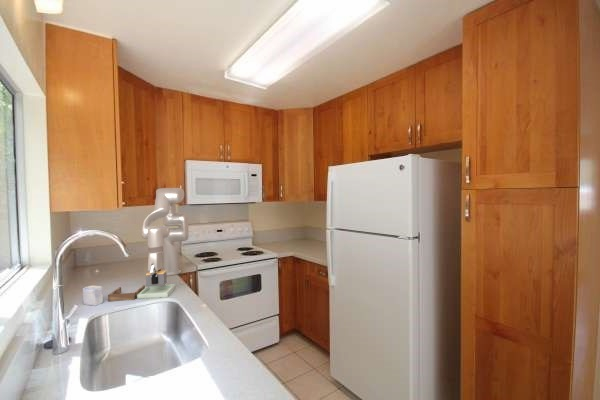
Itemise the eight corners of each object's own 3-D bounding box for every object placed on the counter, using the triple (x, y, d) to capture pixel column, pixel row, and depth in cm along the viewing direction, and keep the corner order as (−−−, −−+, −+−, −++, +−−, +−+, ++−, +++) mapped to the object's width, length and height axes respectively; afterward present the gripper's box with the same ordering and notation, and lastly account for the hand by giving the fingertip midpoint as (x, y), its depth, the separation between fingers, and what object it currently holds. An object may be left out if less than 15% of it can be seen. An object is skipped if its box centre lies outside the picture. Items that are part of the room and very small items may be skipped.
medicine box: (103, 302, 141) (102, 286, 140) (94, 306, 136) (94, 289, 136) (91, 301, 143) (91, 285, 142) (83, 304, 138) (82, 288, 138)
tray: (147, 290, 158) (147, 285, 158) (175, 288, 160) (175, 284, 160) (137, 299, 144) (137, 294, 144) (167, 297, 146) (167, 292, 146)
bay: (119, 293, 154) (119, 287, 154) (145, 291, 156) (144, 285, 156) (108, 301, 142) (108, 295, 142) (135, 299, 144) (135, 293, 144)
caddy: (149, 283, 153) (149, 271, 153) (166, 282, 155) (166, 270, 155) (146, 286, 148) (145, 273, 148) (163, 285, 150) (163, 272, 150)
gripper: (154, 247, 159) (155, 278, 159) (142, 253, 142) (143, 287, 143) (167, 246, 160) (168, 277, 161) (157, 252, 143) (158, 286, 144)
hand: (156, 281), depth 152 cm, fingers closed on caddy, 5 cm apart
